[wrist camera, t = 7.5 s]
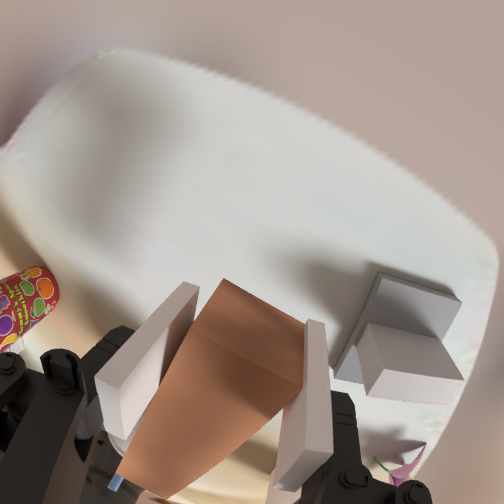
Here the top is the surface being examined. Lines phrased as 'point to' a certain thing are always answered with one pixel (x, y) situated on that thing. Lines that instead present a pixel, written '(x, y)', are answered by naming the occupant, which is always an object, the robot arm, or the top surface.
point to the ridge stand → (402, 344)
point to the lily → (401, 470)
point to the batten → (216, 390)
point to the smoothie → (25, 302)
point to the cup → (281, 494)
